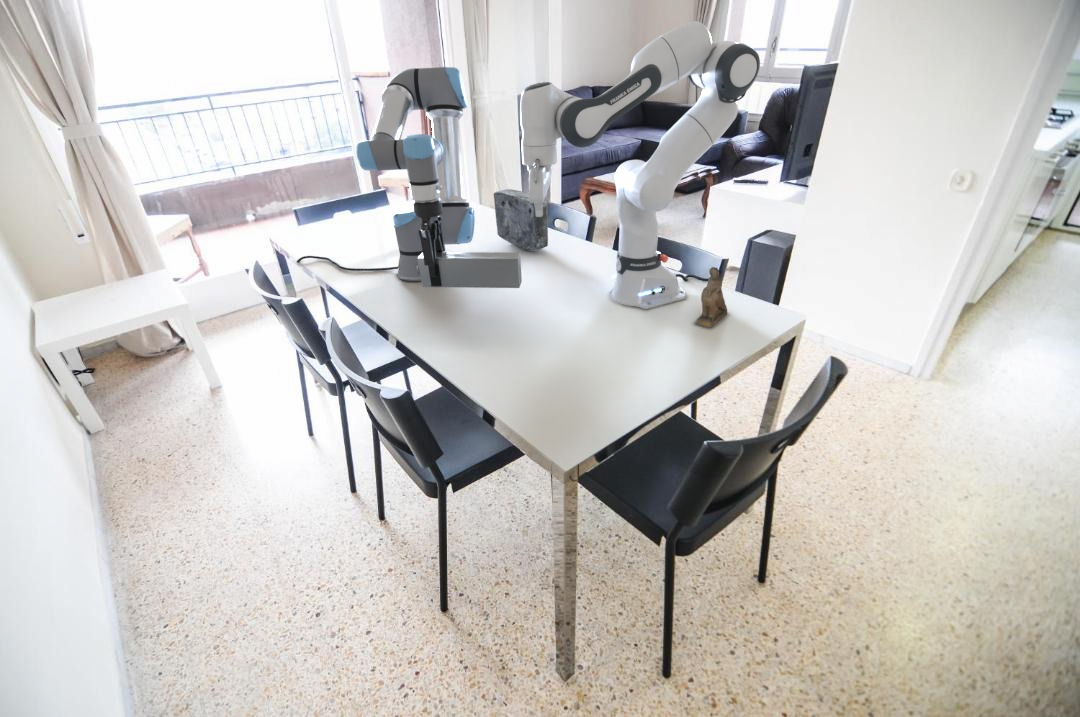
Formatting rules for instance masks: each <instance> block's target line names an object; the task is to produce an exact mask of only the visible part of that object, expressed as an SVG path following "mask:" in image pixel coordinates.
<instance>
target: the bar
mask: <svg viewBox="0 0 1080 717" xmlns="http://www.w3.org/2000/svg"><path fill="white" fill-rule="evenodd" d="M417 259H418V264H419V270H420V276H421V281H420V282H421V287H422V288H432V287H431V281H430V274H429V268H428V265H424V257H423V252H422V254H421V255H420V256H419V257H418V258H417ZM436 260H437V264H438V266H439V272H440V279H441V287H440V288H473V289H474V288H475V289H476V288H477V289H478V288H482V289H483V288H484V289H485V288H487V289H490V288H491V289H492V288H493V289H520V287H521V284H522V281H523V280H522V264H521V252H517V251H516V252H511V251H510V252H507V251H506V252H503V251H501V252H500V251H499V252H498V251H495V252H492V251H491V252H490V251H489V252H485V251H479V252H478V251H476V252H475V251H471V252H469V251H468V252H467V251H461V252H460V251H445V252H436Z"/></svg>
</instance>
